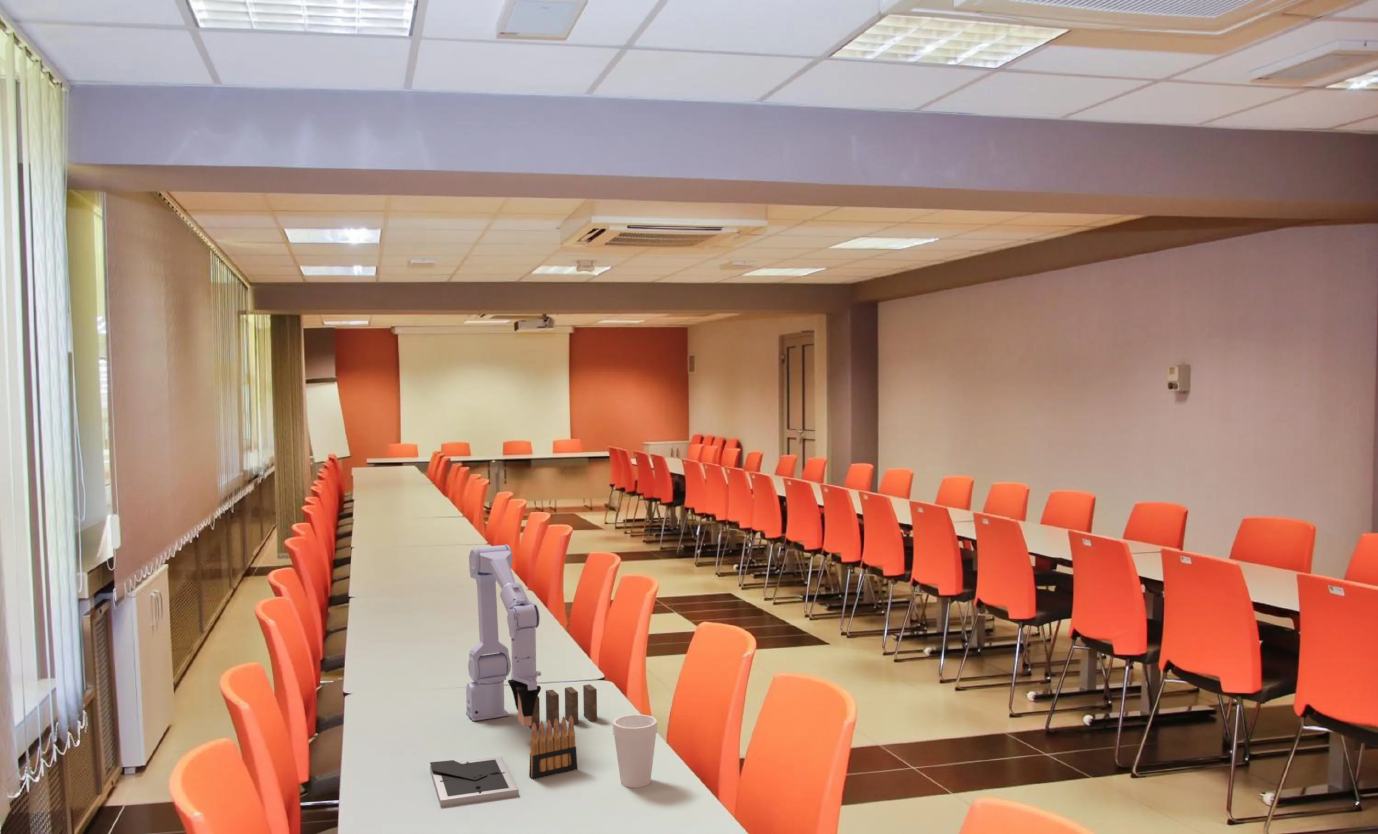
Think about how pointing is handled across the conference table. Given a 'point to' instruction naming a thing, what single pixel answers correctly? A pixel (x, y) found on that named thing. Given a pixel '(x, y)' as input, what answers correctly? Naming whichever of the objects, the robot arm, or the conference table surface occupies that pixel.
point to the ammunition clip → (552, 749)
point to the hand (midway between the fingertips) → (524, 712)
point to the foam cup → (635, 748)
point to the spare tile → (523, 720)
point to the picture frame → (472, 781)
